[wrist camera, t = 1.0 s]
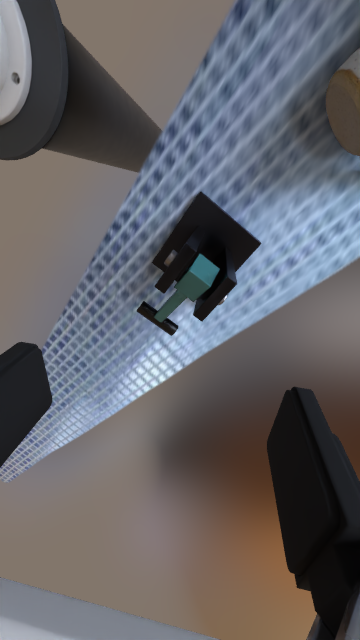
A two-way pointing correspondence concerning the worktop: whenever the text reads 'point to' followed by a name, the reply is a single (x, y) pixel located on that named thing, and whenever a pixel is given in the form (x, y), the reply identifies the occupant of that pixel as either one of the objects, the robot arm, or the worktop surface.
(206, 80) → the worktop surface
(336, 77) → the ceramic mug
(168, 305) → the lever
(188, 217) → the bracket
